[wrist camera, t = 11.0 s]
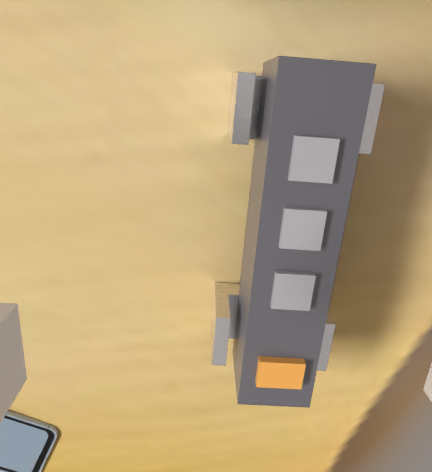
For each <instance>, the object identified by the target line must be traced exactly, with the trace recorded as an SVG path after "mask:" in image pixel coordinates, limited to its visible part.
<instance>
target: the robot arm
mask: <svg viewBox="0 0 432 472" xmlns="http://www.w3.org/2000/svg"><path fill="white" fill-rule="evenodd" d="M26 379H27V376H26V368H25V360H24V352H23V344H22V336H21V328H20V320H19V312H18V305H17V304H13V303H0V423H1V422H2V420H3V418H4V417H5V415H6V413H7V411H8V410H9V408H10V406H11V405H12V403H13V401H14V400H15V398H16V396H17V394H18V393H19V391H20V389H21V388H22V386H23V384H24V383H25V381H26ZM423 391H424V392H425V393H426V395H427V396H428V398H429V399H430V400H431V402H432V364H431V367H430V370H429V373H428V376H427V380H426V383H425V386H424V389H423Z"/></svg>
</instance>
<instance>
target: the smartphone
mask: <svg viewBox="0 0 432 472" xmlns="http://www.w3.org/2000/svg"><path fill="white" fill-rule="evenodd" d="M57 436H58V431H57V429H56V428H55V427H54V426H52V425H50V424H47V423H44V422H41V421H38V420H36V419H33V418H30V417H27V416H24V415H21V414H18V413H15V412H12V411H9V410H8V411H7V413H6V415H5V417H4V418H3V420H2V422H1V423H0V471H2V472H41V470H42V468H43V466H44V464H45V462H46V459H47V457H48V455H49V453H50V451H51V449H52V447H53V445H54V443H55V440H56V438H57Z"/></svg>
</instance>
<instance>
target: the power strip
mask: <svg viewBox="0 0 432 472" xmlns="http://www.w3.org/2000/svg"><path fill="white" fill-rule="evenodd" d="M375 69H376V64H369V63H358V62H346V61H334V60H322V59H311V58H299V57H287V56H277V57H275V58H273V59H271V60H269V61H267V62H264V63H263V73H262V82H261V91H260V101H259V110H258V119H257V129H256V138H255V147H254V157H253V166H252V175H251V185H250V194H249V203H248V213H247V222H246V231H245V241H244V250H243V259H242V269H241V278H240V287H239V297H238V306H237V315H236V325H235V334H234V343H233V359H234V370H235V381H236V391H237V402H238V404H247V405H268V406H289V407H310V402H311V397H312V392H313V387H314V382H315V376H316V371H317V366H318V361H319V356H320V351H321V346H322V341H323V335H324V330H325V325H326V320H327V315H328V310H329V305H330V299H331V294H332V289H333V284H334V279H335V274H336V269H337V264H338V258H339V253H340V248H341V243H342V238H343V233H344V228H345V223H346V217H347V212H348V207H349V202H350V197H351V192H352V187H353V181H354V176H355V171H356V166H357V161H358V156H359V151H360V146H361V140H362V135H363V130H364V125H365V120H366V115H367V110H368V104H369V99H370V94H371V89H372V84H373V79H374V74H375Z"/></svg>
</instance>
